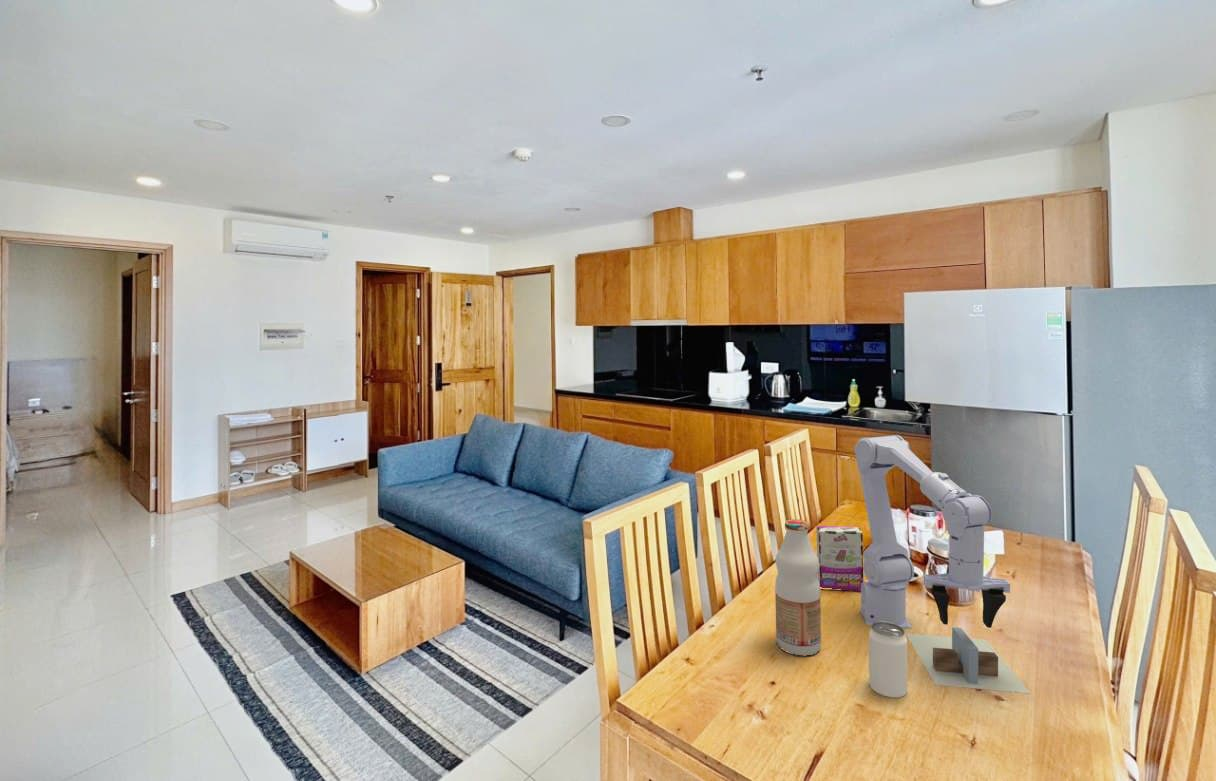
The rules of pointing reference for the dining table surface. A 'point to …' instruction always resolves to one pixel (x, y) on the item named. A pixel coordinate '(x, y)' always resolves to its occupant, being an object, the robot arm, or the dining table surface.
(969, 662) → the grey flat block
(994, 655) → the walnut slotted plate
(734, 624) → the dining table surface
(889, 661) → the can
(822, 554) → the candy bar box
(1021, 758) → the dining table surface
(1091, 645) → the dining table surface
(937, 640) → the felt mat
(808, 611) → the fruit juice
